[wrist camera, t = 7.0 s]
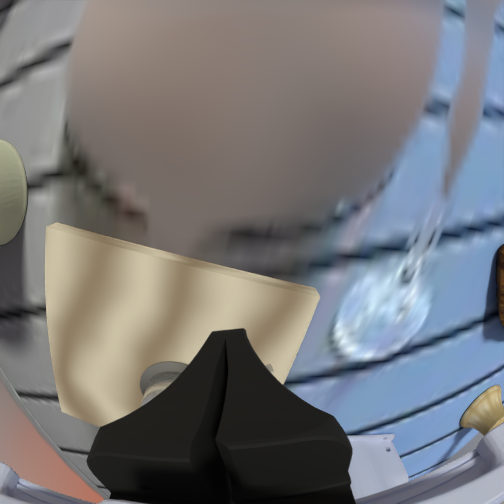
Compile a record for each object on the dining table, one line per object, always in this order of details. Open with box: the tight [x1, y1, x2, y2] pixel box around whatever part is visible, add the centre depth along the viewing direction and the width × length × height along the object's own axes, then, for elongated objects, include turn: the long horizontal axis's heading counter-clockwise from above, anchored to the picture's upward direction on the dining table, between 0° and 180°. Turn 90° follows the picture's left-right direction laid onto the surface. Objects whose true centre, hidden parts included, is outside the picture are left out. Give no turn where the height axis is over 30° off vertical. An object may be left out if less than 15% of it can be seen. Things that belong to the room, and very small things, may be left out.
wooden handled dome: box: [140, 371, 181, 407], centre depth 21 cm, size 11×5×3 cm, turn 8°
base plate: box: [45, 223, 320, 427], centre depth 22 cm, size 20×20×2 cm
